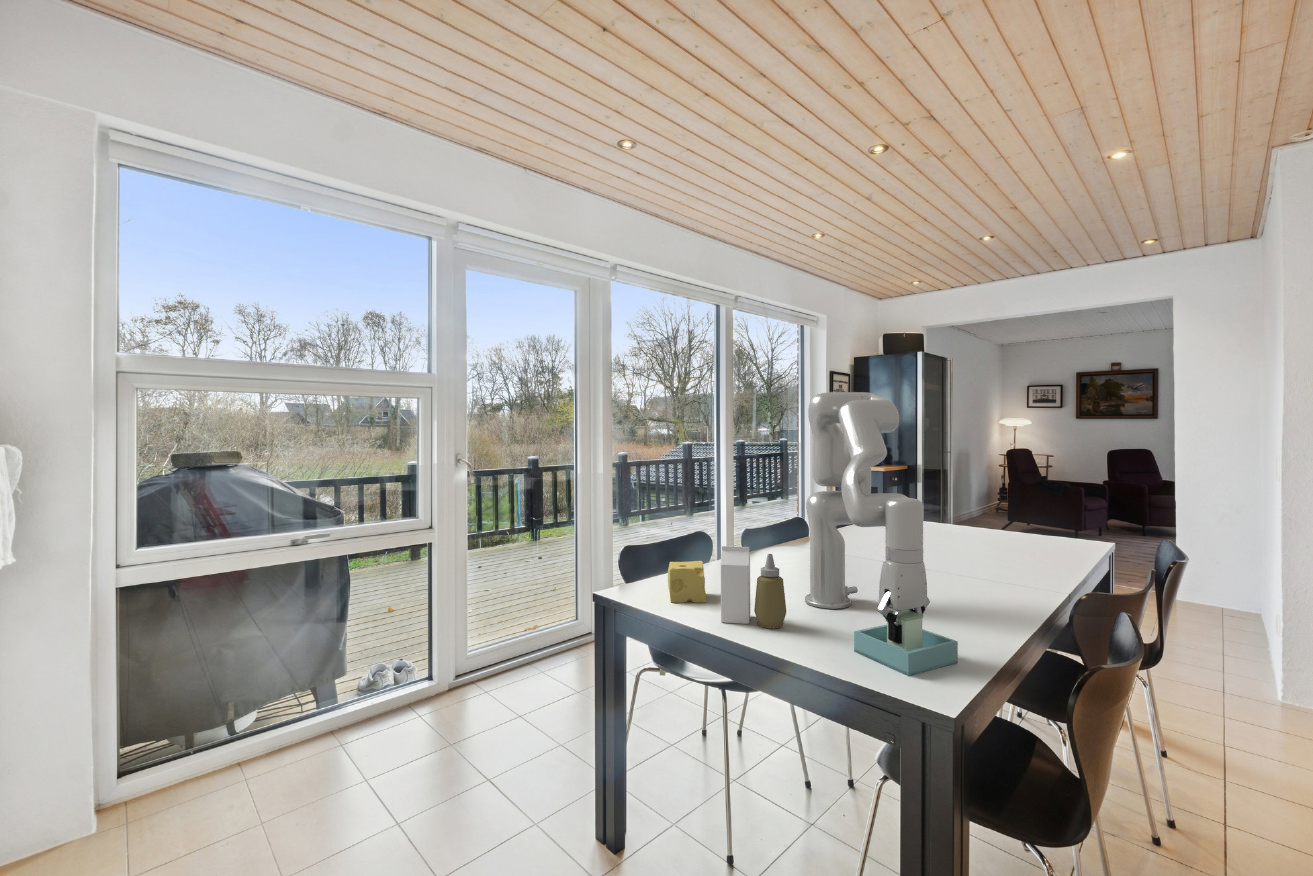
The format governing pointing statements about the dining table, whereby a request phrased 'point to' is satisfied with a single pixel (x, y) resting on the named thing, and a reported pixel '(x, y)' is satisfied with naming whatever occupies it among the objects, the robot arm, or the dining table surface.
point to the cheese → (686, 582)
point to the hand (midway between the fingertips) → (904, 638)
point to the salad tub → (909, 631)
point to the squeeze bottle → (770, 596)
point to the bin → (929, 657)
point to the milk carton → (735, 584)
